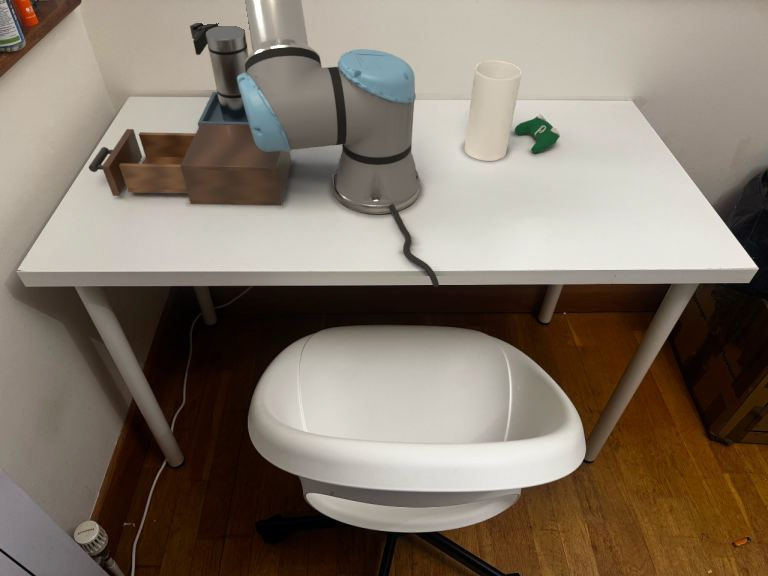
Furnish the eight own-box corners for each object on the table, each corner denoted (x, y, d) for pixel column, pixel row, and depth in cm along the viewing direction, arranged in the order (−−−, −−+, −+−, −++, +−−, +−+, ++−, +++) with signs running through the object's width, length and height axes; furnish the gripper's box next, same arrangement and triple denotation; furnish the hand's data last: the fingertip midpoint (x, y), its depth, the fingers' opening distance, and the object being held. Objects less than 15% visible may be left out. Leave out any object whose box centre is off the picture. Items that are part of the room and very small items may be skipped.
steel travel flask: (264, 116, 118) (252, 33, 106) (235, 128, 114) (219, 43, 102) (244, 104, 122) (230, 22, 110) (215, 115, 118) (197, 31, 106)
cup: (514, 156, 109) (530, 76, 98) (476, 164, 107) (489, 83, 96) (493, 136, 115) (506, 57, 104) (457, 143, 113) (466, 64, 101)
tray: (277, 104, 123) (276, 93, 121) (267, 135, 113) (266, 124, 112) (215, 102, 123) (212, 91, 121) (200, 134, 113) (197, 123, 112)
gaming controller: (541, 161, 112) (566, 139, 110) (532, 151, 109) (557, 128, 107) (520, 138, 118) (543, 117, 116) (511, 128, 115) (534, 106, 113)
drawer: (88, 195, 96) (75, 166, 92) (113, 156, 105) (103, 128, 101) (197, 197, 97) (190, 168, 92) (213, 158, 105) (207, 130, 101)
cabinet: (190, 203, 97) (180, 165, 91) (208, 160, 106) (200, 124, 101) (281, 205, 97) (276, 167, 92) (291, 162, 107) (287, 125, 101)
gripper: (311, 30, 127) (296, 70, 112) (201, 26, 128) (172, 65, 113) (308, -6, 122) (293, 31, 107) (194, -10, 123) (162, 26, 108)
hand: (231, 49), depth 110 cm, fingers open, 13 cm apart
